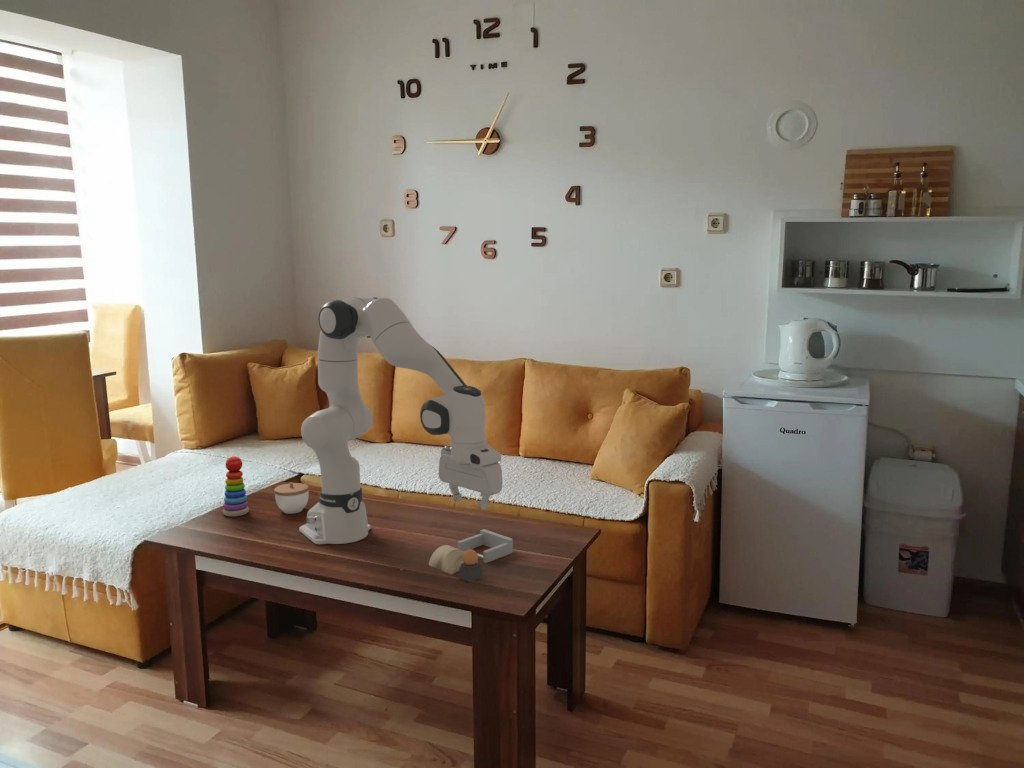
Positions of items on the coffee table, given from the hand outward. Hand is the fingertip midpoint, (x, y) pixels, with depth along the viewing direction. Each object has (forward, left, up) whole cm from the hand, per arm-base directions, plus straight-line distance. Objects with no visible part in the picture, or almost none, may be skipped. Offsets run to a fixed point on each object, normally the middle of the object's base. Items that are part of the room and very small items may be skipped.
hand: (469, 504), depth 200 cm
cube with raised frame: (0, 0, -20) cm, 20 cm away
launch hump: (-10, +3, -26) cm, 27 cm away
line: (-10, +12, -20) cm, 25 cm away
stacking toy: (-93, -17, -20) cm, 97 cm away
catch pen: (-10, +15, -20) cm, 26 cm away
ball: (0, 0, -14) cm, 14 cm away
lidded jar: (-82, -3, -20) cm, 84 cm away
